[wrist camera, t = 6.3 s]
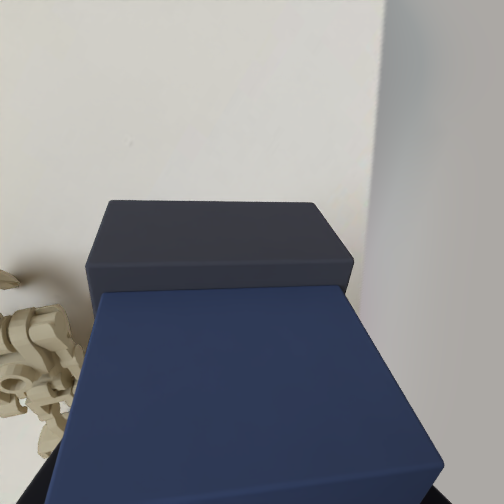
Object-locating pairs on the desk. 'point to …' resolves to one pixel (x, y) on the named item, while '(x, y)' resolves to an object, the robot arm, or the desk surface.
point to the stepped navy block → (232, 368)
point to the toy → (38, 366)
